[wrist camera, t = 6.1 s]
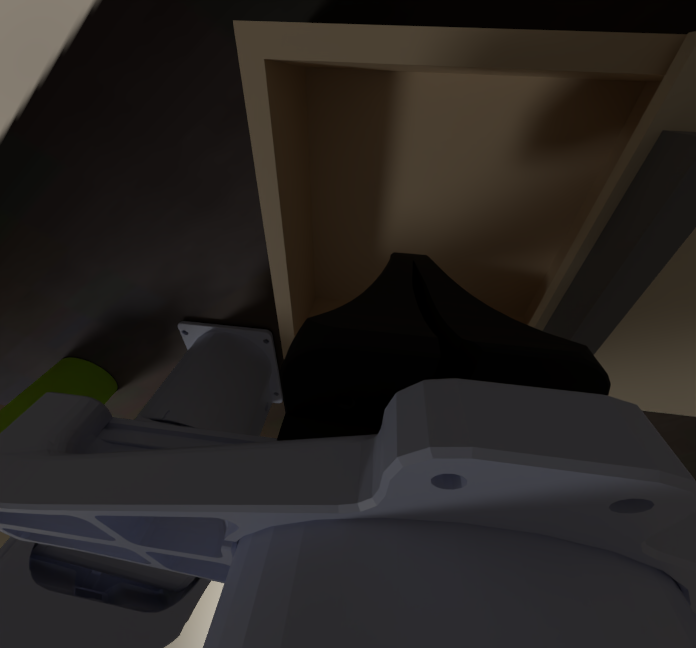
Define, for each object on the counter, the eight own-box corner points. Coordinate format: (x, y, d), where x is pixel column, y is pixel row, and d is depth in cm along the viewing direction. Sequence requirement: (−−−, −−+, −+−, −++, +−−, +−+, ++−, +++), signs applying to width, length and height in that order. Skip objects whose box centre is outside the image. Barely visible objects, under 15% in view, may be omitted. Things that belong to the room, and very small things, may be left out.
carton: (528, 323, 21) (566, 390, 16) (306, 301, 22) (283, 359, 17) (672, 57, 12) (849, 38, 7) (289, 43, 13) (232, 20, 8)
